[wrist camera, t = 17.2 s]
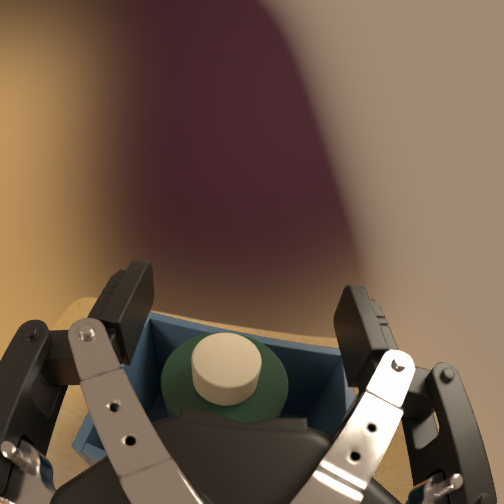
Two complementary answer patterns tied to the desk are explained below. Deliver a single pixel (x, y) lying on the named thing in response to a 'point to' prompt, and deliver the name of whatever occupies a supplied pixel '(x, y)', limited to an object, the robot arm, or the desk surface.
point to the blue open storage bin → (289, 353)
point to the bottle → (225, 378)
